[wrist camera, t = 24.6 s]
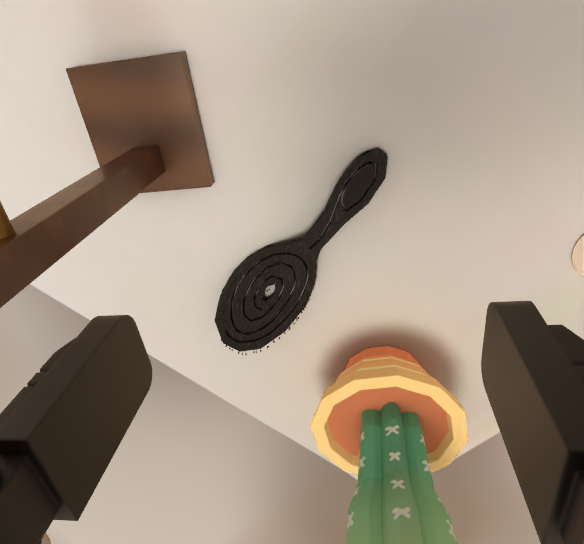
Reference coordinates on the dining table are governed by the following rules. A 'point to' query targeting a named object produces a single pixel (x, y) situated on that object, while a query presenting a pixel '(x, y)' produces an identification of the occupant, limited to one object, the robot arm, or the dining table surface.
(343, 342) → the dining table surface
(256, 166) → the dining table surface
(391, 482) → the potted cactus
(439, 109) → the dining table surface
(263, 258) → the hairbrush
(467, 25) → the dining table surface
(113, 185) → the hook stand
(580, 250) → the cosmetic bottle
